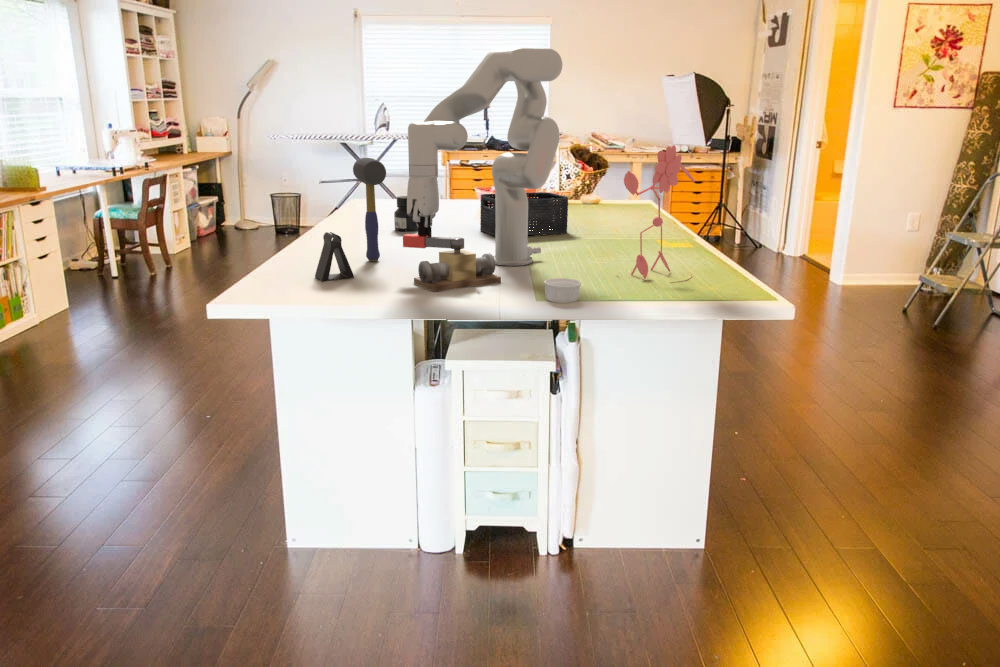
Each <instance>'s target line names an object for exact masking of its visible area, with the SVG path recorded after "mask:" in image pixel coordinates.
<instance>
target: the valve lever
mask: <svg viewBox="0 0 1000 667" xmlns="http://www.w3.org/2000/svg"><path fill="white" fill-rule="evenodd" d="M402 247H403V248H412V249H414V248H416V249H426V248H437V249H438V248H439V249H452V250H454V249H460V250H465V238H463V237H445V236H444V237H443V236H432V237H428V235H418V234H412V233H405V234H403V235H402Z"/></svg>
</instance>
